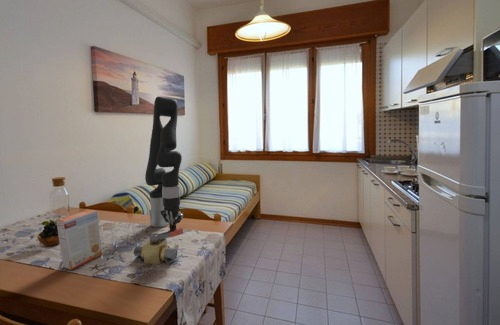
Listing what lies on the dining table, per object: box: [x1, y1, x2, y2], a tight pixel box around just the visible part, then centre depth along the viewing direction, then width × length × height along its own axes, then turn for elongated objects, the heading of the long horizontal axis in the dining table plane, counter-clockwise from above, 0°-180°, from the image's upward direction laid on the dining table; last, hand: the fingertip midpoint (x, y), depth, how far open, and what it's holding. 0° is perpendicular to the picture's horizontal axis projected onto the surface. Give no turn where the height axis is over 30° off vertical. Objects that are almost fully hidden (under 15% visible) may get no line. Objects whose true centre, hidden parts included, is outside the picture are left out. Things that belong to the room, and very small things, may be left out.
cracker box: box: [56, 209, 103, 271], centre depth 113 cm, size 14×6×21 cm, turn 153°
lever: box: [149, 227, 184, 243], centre depth 116 cm, size 14×4×2 cm, turn 129°
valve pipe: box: [133, 238, 178, 265], centre depth 114 cm, size 18×7×8 cm, turn 80°
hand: (173, 231), depth 121 cm, fingers closed
